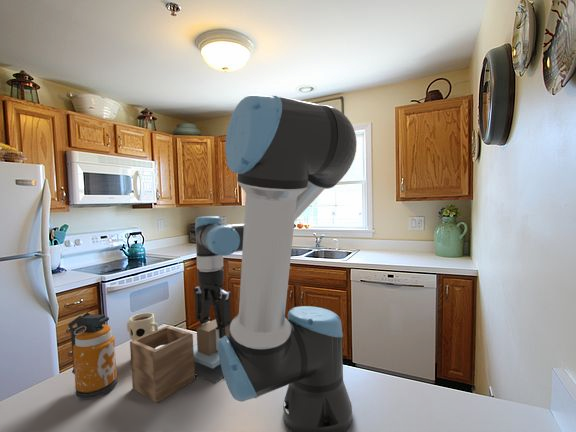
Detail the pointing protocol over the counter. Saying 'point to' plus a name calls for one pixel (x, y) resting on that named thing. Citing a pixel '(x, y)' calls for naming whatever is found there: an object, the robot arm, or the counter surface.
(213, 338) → the lid
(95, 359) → the canister
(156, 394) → the box
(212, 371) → the mat
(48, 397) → the counter surface
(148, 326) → the character mug
